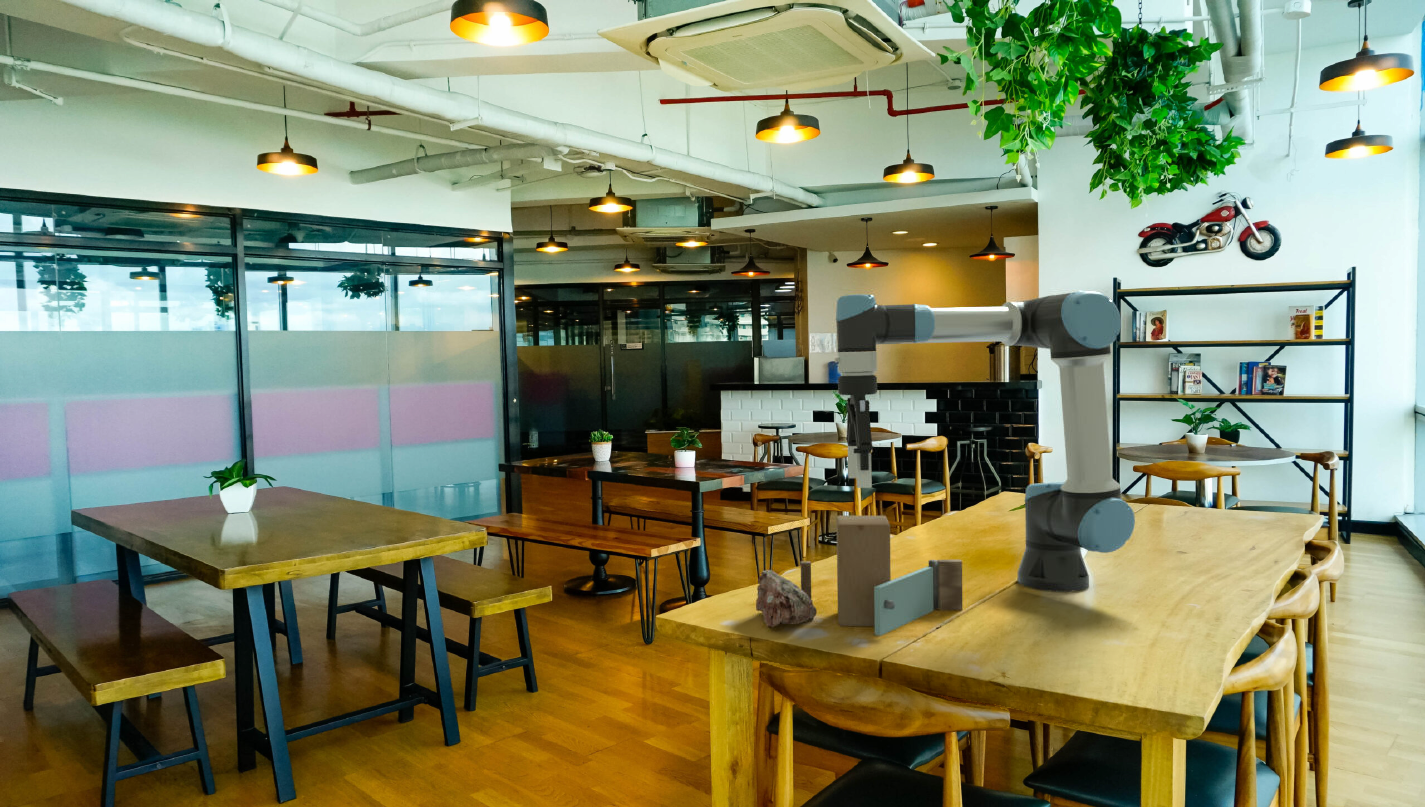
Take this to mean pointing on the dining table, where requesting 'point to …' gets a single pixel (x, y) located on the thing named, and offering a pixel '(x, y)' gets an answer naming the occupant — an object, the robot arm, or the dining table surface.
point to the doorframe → (944, 583)
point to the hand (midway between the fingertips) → (859, 482)
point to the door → (903, 600)
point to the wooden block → (861, 566)
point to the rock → (782, 600)
